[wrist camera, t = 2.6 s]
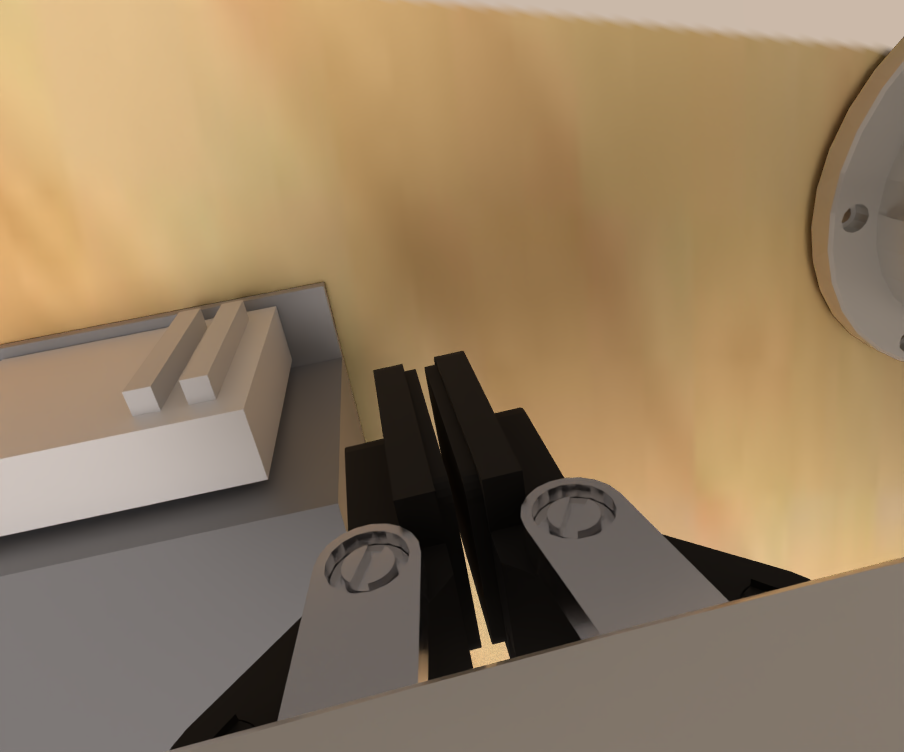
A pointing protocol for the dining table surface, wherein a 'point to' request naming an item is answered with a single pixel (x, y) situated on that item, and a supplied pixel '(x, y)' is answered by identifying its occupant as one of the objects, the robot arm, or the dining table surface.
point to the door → (141, 417)
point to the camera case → (174, 567)
